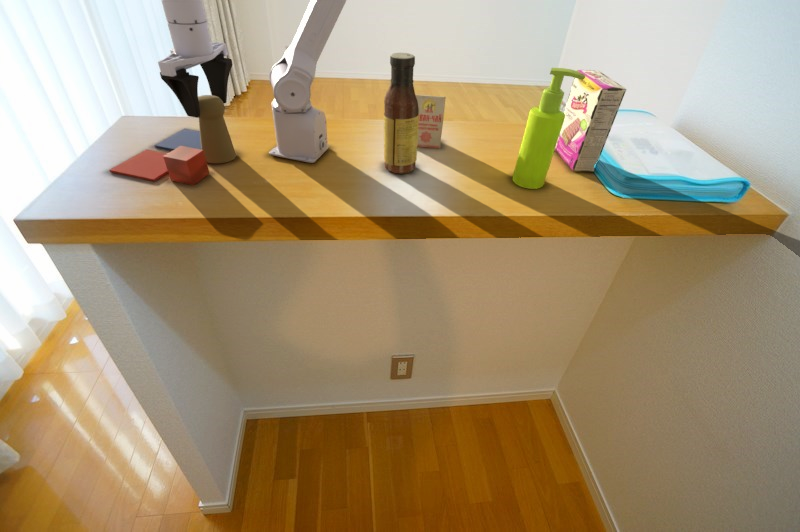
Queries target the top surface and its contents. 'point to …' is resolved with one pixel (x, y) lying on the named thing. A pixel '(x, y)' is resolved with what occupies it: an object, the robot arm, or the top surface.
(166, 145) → the blue mat
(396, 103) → the sauce bottle
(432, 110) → the beige carton box
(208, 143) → the cork
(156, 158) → the red mat
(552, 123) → the soap dispenser
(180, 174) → the red block
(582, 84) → the candy bar box
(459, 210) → the top surface
